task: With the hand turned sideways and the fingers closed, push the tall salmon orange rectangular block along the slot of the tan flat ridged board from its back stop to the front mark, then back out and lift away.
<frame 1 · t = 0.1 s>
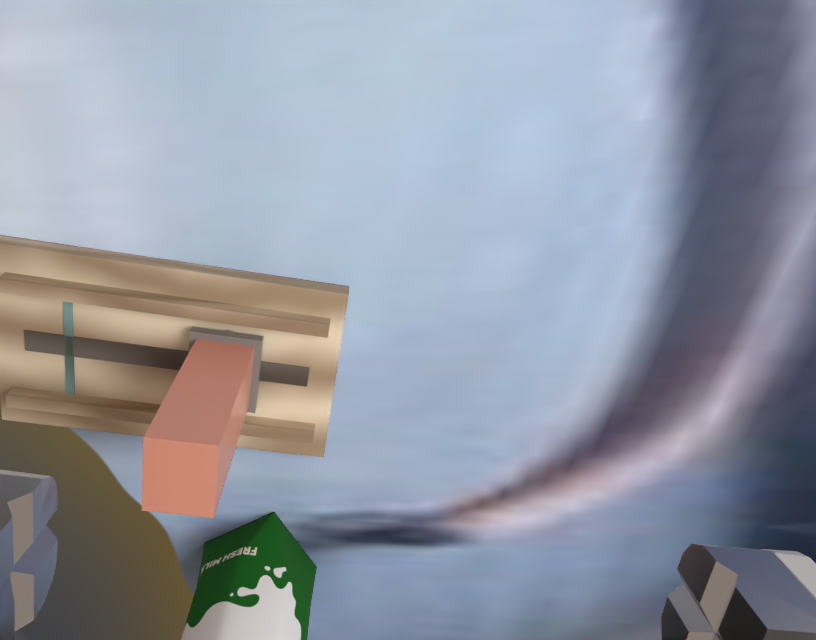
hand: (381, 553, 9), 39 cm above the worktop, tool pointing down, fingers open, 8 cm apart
salmon orange rectangular block: (205, 416, 43), point 8 cm above the worktop, slide at 0.0 cm
milk carton: (261, 552, 59), on the worktop
tan flat ridged board: (175, 349, 50), on the worktop
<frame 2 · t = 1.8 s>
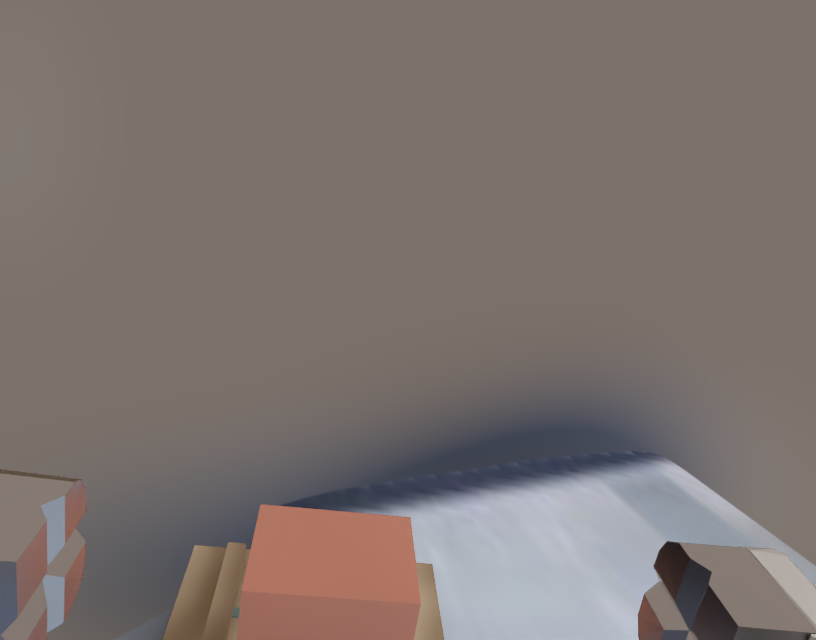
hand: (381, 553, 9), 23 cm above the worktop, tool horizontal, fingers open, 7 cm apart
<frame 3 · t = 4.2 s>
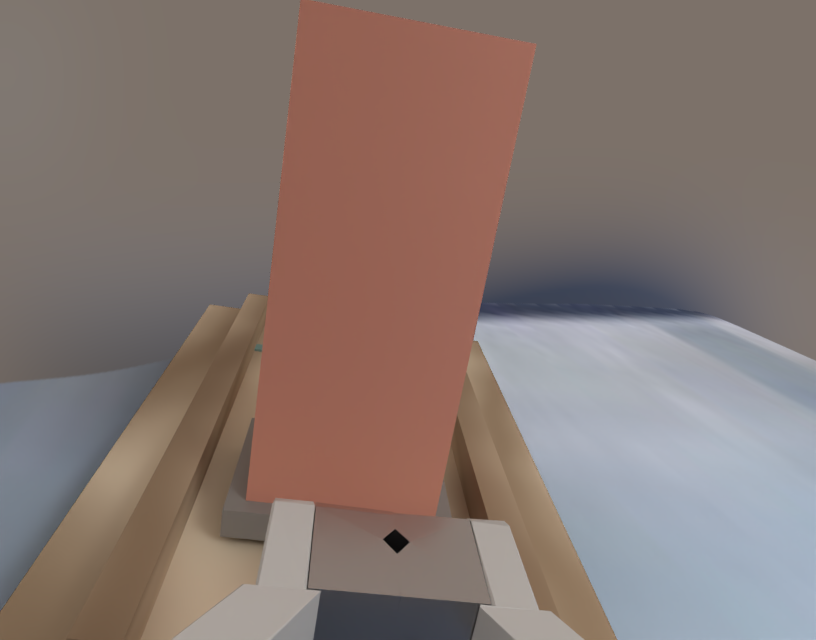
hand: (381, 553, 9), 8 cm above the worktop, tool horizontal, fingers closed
salmon orange rectangular block: (372, 287, 18), point 8 cm above the worktop, slide at 0.0 cm
tan flat ridged board: (335, 472, 24), on the worktop
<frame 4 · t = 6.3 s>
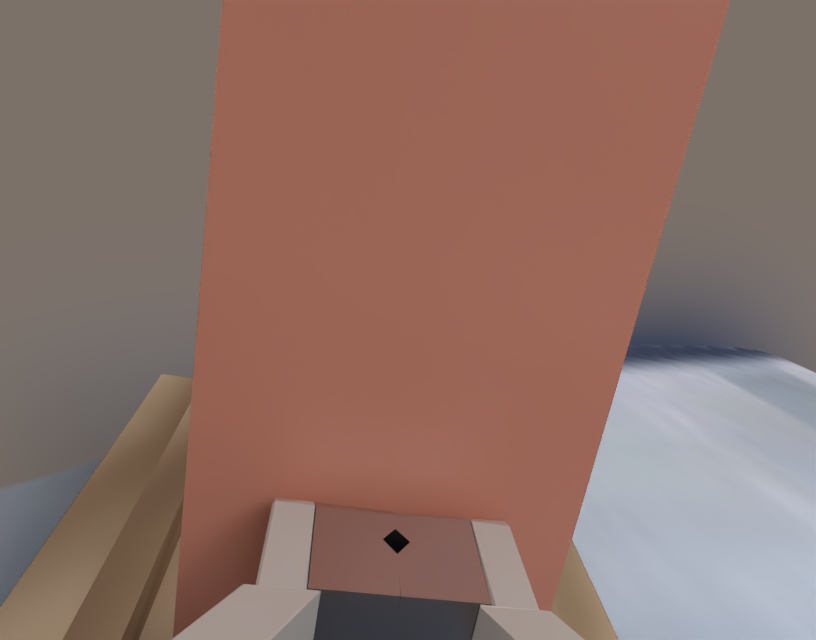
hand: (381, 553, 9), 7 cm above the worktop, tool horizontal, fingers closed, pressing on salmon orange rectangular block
salmon orange rectangular block: (382, 426, 10), point 8 cm above the worktop, slide at 1.1 cm, touching gripper
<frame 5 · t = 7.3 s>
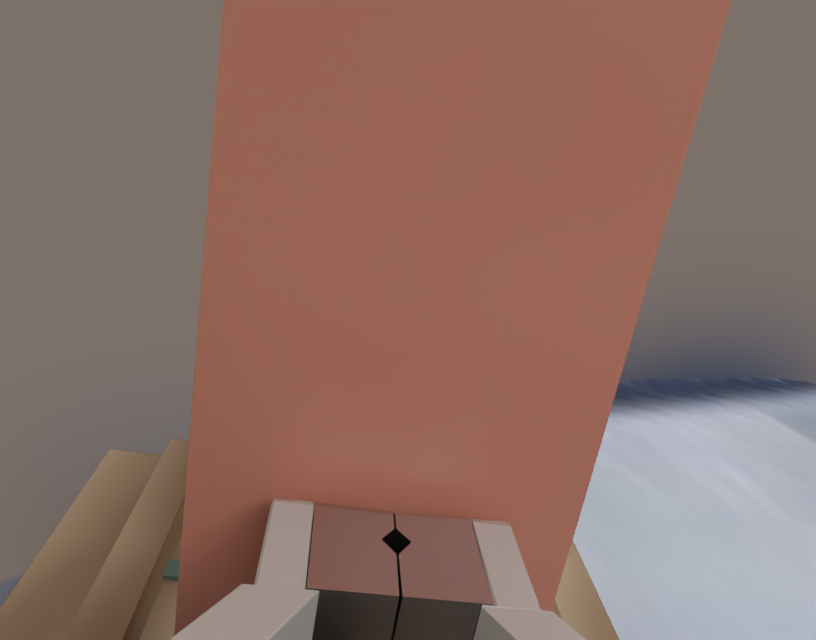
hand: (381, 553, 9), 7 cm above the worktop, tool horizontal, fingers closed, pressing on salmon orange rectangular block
salmon orange rectangular block: (383, 426, 10), point 8 cm above the worktop, slide at 6.7 cm, touching gripper
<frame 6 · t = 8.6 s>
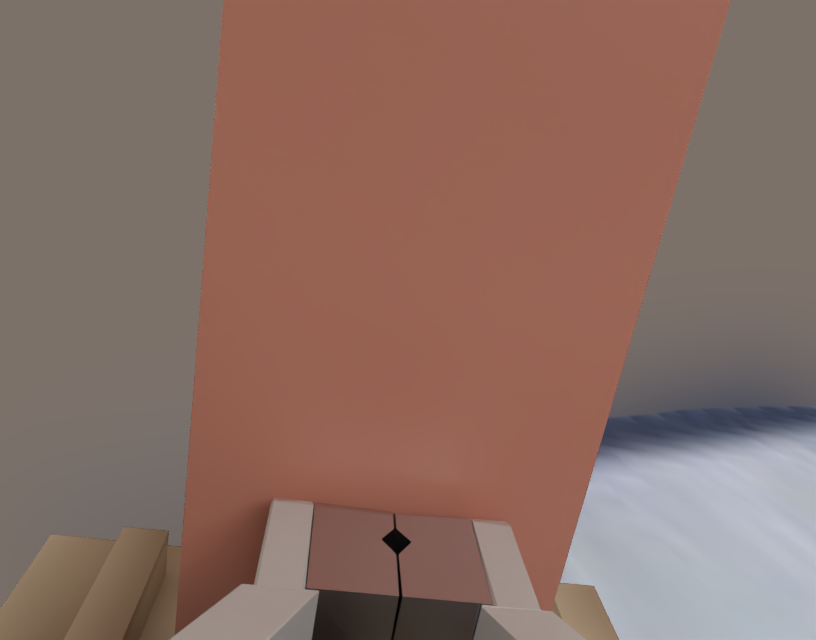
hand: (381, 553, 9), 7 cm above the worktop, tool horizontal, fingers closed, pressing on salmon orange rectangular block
salmon orange rectangular block: (383, 426, 10), point 8 cm above the worktop, slide at 10.8 cm, touching gripper
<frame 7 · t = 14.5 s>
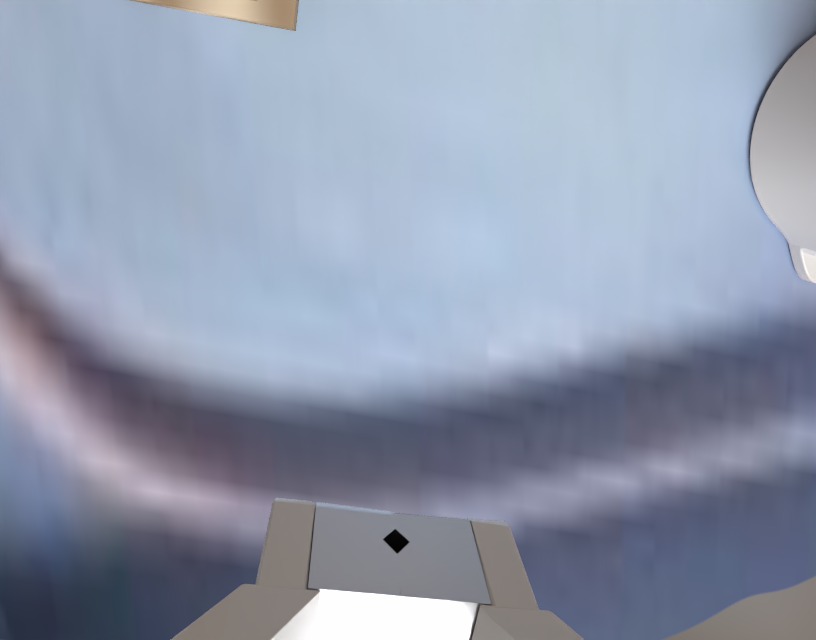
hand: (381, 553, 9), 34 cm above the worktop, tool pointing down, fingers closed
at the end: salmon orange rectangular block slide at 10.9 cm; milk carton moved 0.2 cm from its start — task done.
